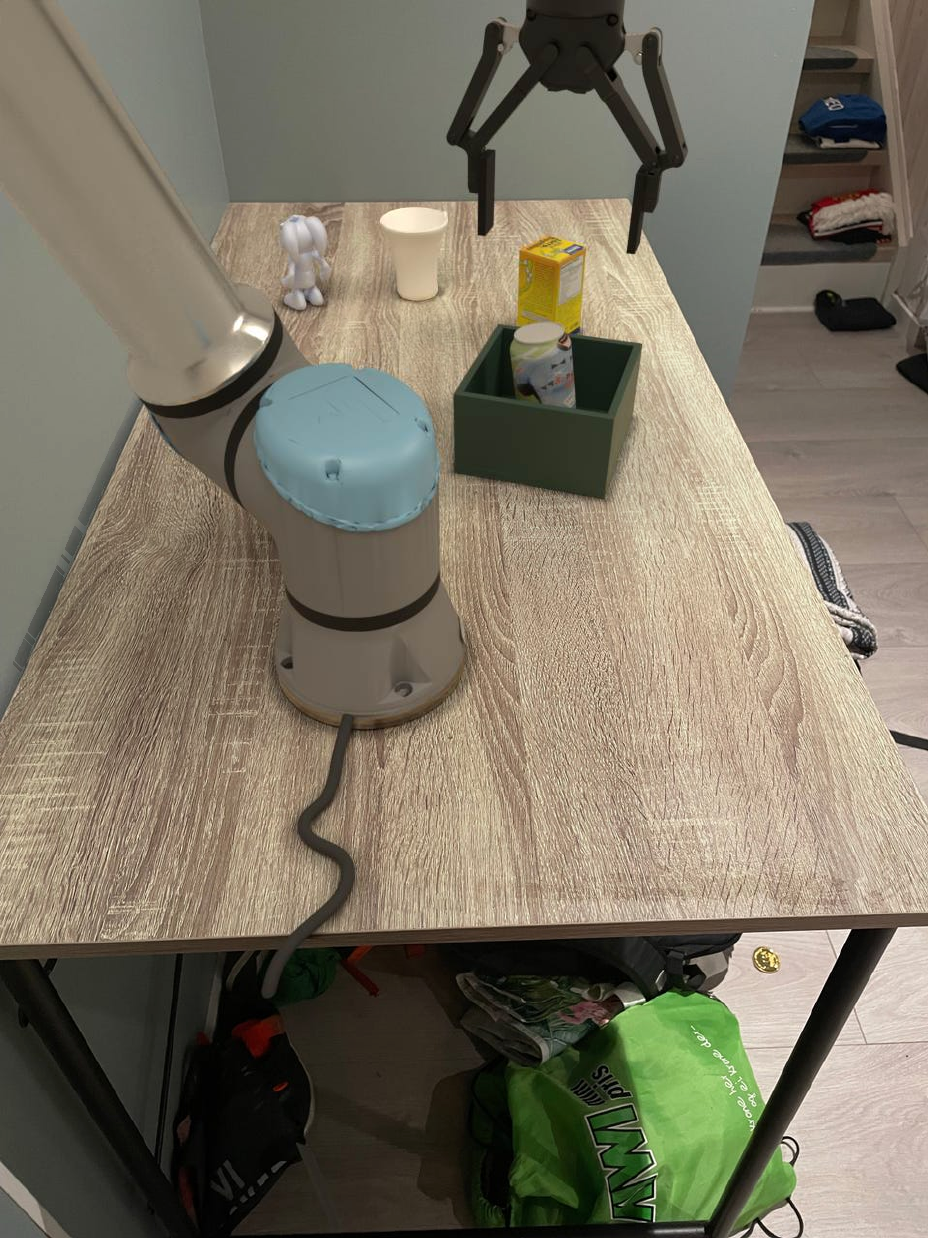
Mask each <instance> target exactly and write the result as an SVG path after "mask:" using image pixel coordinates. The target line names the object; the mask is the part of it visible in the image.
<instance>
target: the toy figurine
mask: <svg viewBox="0 0 928 1238" xmlns="http://www.w3.org/2000/svg"><path fill="white" fill-rule="evenodd" d="M278 228H279V229H278V234H279V239H280V240H279V241H280V242H279V244H280V248H281V249H282V250H284V251H285V252H287V257H286V264H287V265H288V273H287V274H286V276H284V277H283V278H282V279H281V285H282V287H283V288H284V289H292V290H293V291H291V292H288V293H287V294H286V295H285V296H284V297H283V303H284V305H286V306H288V307H289V308H292V309H293V310H296V311H304V310H306V309H307V301H308V302H309V303H310V304H311V305H312V306H317V307H318V306H323V304H324V297H323V294H322V292H321V291H320V289H319V288H318V287H317V285H316V275H315V271H314V267H313V260H314V261H317V262H318V263H319V265H320V266H321V270H320V272H319V273H318V277H319V278H320V279H321V280H322V281H325V280H328V279H329V278H330V277H331V276H332V269H331V266H330V265H329V264H328V262H327V261H326V259H325V258H324V256H325V254H326V250H327V247H328V246H327V245H328V234H327V230H326V228H325V226H324V224H323V222H322V221H321V219H319V218H318V217H317V216H314V215H310V216H308V217H307V216H305V215H302V214H292V215H291V216H289V217H288V218H287V219H286V220H284V221H283V222H281V223H280V224H279V225H278ZM314 245H315V248H313V247H314ZM302 289H304V291H303V290H302Z"/></svg>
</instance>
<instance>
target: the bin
mask: <svg viewBox="0 0 928 1238" xmlns="http://www.w3.org/2000/svg"><path fill="white" fill-rule="evenodd" d="M519 328H520V327H519V326H517V325H513V324H512V325H511V324H503V323H497V325H496V326H495V328H494V329H493V331H492V332H491V334H490V335H489V337H488V339H487V340H486V342H485V344H483V347H482V348H481V350H479V351H480V352H479V353H478V354H477V356H476V358H475V359H474V361H473V362H472V364H471V366H470V367H469V368H468V370H467V372H466V374H465V375H464V377H463V378H462V379H461V381H460V382H459V385H458V386H457V387H456V389H455V391H454V392H453V394H452V397H453V398H452V400H453V401H452V402H453V405H452V406H453V459H454V460H453V463H454V466H453V467H454V469H453V471H454V473H456V474H462V475H467V476H473V477H479V478H484V479H490V480H495V481H502V482H507V483H513V484H518V485H523V486H524V485H525V486H530V487H535V488H540V489H546V490H552V491H558V492H563V493H569V494H575V495H580V496H586V497H591V498H597V499H603V500H605V498H606V495H607V493H608V490H609V487H610V484H611V481H612V478H613V475H614V473H615V469H616V467H617V464H618V461H619V458H620V456H621V452H622V449H623V446H624V444H625V441H626V438H627V435H628V433H629V429H630V427H631V424H632V421H633V417H634V416H633V415H634V410H635V402H636V394H637V389H638V388H637V386H638V380H639V373H640V365H641V359H642V351H643V342H642V343H641V342H634V341H627V340H621V339H612V338H606V337H597V336H590V335H584V334H577V333H576V334H570V333H566V334H567V335H568V336H569V338H570V340H571V346H572V359H573V372H574V385H575V398H576V409H572V408H566V407H559V406H553V405H547V404H540V403H534V402H527V401H521V400H516V395H515V387H514V379H513V371H512V363H511V355H510V346H511V343H512V341H513V340H514V333H515V332H516V330H517V329H519Z"/></svg>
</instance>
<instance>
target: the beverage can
mask: <svg viewBox="0 0 928 1238" xmlns="http://www.w3.org/2000/svg"><path fill="white" fill-rule="evenodd" d="M510 355H511V363H512V371H513V379H514V387H515V395H516V400H521V401H527V402H534V403H540V404H547V405H553V406H559V407H566V408H572V409H576V398H575V385H574V372H573V359H572V346H571V340H570V338H569V336H568V335H567V334H566V333H565V332H564V327H563V326H562V325H561V324H559V323H556V322H548V321H543V322H535V323H530V324H527V325H525V326H522V327H520V328H519V329H517V330H516V332H515V333H514V340H513V341H512V343H511V346H510Z"/></svg>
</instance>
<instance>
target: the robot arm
mask: <svg viewBox="0 0 928 1238" xmlns="http://www.w3.org/2000/svg"><path fill="white" fill-rule="evenodd" d="M625 4H626V0H526V2H525V17H524V21H523V24H522V25H521V24H516V23H512V22H508V21H507V19H506V18H505V17H503V16H498V17H496V18H495V19H493V20H492V21H490V22H489V23H487V25H486V26H485V29H484V36H483V45H482V54H481V56H480V58H479V60H478V63H477V65H476V67H475V70H474V72H473V74H472V77H471V79H470V81H469V83H468V85H467V88H466V90H465V92H464V94H463V97H462V99H461V101H460V103H459V106H458V108H457V111H456V113H455V114H454V117H453V119H452V122H451V124H450V126H449V128H448V131H447V133H446V136H445V139H446V142H447V144H448V145H449V146H452V147H455V146H456V147H458V148H460V149H462V150H463V151H464V152H465V153H466V156H467V188H468V191H469V192H468V193H469V194H475V195H477V230H476V231H477V236H478V237H479V236H480V237H481V236H482V237H486V236H487V235H488V234H489V232H490V231H491V230H492V229H493V228H494V226H495V192H496V191H495V190H496V149H491V148H487V146H488V145H489V143H490V142H491V141H492V139H493V138H494V137H495V136H496V134H497V133H498V132H499V131H500V130H501V128H502V127H503V126H504V125H505V124H506V122H507V121H508V120H509V119H510V118H511V117H512V115H513V114H514V113H515V111H516V110H517V109H518V108H519V107H520V105H521V104H522V103H523V102H524V101H525V100H526V99H527V97H528V96H529V94H530V93H531V92H532V91H533V90H534V89H535V87H536V86H537V85H538V84H540V85H541V86H542V87H544V88H545V89H546V90H547V92H552V93H553V92H554V93H557V92H562V91H568V92H571V93H573V94H577V95H586V94H587V93H589V92H592V91H593V90H595V92H596V94H597V95H598V97H599V99H600V101H602V102H603V103H604V104H605V105H606V106H607V108H608V110H609V111H610V113H611V114H612V116H613V118H614V119H615V121H616V123H617V124H618V126H619V128H620V129H621V131H622V132H623V134H624V136H625V138H626V139H627V140H628V143H629V144H630V146H631V147H632V149H633V150H634V152H635V154H636V156H637V158H638V159H639V161H640V162H641V164H640V166H639V168H638V170H637V172H636V174H635V180H634V187H633V196H632V204H631V212H630V220H629V228H628V229H629V230H628V236H627V243H626V250H625V251H626V253H625V254H628V255H636V253H637V251H638V248H639V247H640V245H641V239H642V231H643V223H644V215H645V213H647V214H648V213H649V214H653V213H654V212H655V209H656V208H657V206H658V203H659V199H660V194H661V193H660V192H661V185H662V179H663V173H664V172H665V171H666V170H669V169H670V170H671V169H673V168H674V169H679V168H680V167H682V166H683V165H684V163H685V161H686V158H687V157H688V153H689V148H688V145H687V141H686V138H685V134H684V131H683V127H682V124H681V121H680V117H679V114H678V111H677V107H676V103H675V100H674V96H673V93H672V90H671V86H670V82H669V79H668V76H667V73H666V69H665V66H664V63H663V44H664V43H663V38H664V35H663V31H662V29H661V28H660V27H658V26H653V27H651V28H650V29H649V30H648V31H636V32H627V31H626V28H625V23H624V14H625ZM516 43H518V45H519V48H520V49H521V52H522V53H523V55H524V56H525V58H526V60H527V62H528V65H529V66H528V67H527V68H526V70H525V71H524V72H523V73H522V74H521V76H520V77H519V78H518V80H517V81H516V82H515V84H514V85H513V86H512V88H511V89H510V90H509V92H507V94H506V95H505V96H504V97H503V99H502V100H501V101H500V103H499V104H498V105H497V106H496V107H495V108H494V110H493V111H492V113H491V114H490V115H489V116H488V117H487V118H486V120H485V121H484V122H483V124H481V126H480V127H479V128H478V130H477V131H474V130H473V129H471V128H472V126H473V123H474V121H475V119H476V116H477V114H478V112H479V110H480V108H481V106H482V104H483V101H484V99H485V97H486V95H487V93H488V91H489V88H490V86H491V84H492V82H493V80H494V78H495V75H496V73H497V71H498V69H499V66H500V65H501V62H502V59H503V57H504V55H506V54H508V53H509V52H511V51H512V49H513V47H514V44H516ZM625 51H628V52H629V53H631V55H632V61H633V62H634V63H635V65H638V66H641V72H642V77H643V82H644V84H645V88H646V91H647V95H648V98H649V100H650V104H651V107H652V108H651V109H652V111H653V113H654V114H653V115H654V118H655V121H656V123H657V127H658V130H659V134H660V137H661V141H662V143H663V146H664V149H662V147H661V146H660V144H659V142H658V141H657V139H656V137H655V136H654V134H653V132H652V131H651V129H650V128H649V127H650V126H649V125H648V124H647V122H646V120H645V119H644V117H643V116H642V114H641V112H640V110H639V109H638V107H637V105H636V104H635V103H634V100H633V99H632V97H631V96H630V94H629V92H628V91H627V89H626V87H625V85H624V81H623V78H622V77H621V76H620V74H619V72H618V71H617V69H616V67H615V66H614V65H615V64H616V63H617V61H618V60H619V58H621V56H622V55H623V53H624V52H625ZM0 193H1V194H2V195H3V196H4V197H5V199H6V200H7V201H8V202H9V204H10V205H11V206H12V208H13V209H14V210H15V211H16V212H17V214H18V215H19V216H20V217H21V219H22V220H23V221H24V223H25V224H26V225H27V226H28V228H29V229H30V230H31V232H33V234H34V235H35V236H36V238H37V239H38V240H39V241H40V242H41V244H42V245H43V246H44V247H45V249H46V250H47V252H48V253H50V254H49V255H51V257H53V259H54V260H55V262H56V263H57V264H58V265H59V266H60V268H61V269H62V270H63V271H64V272H65V274H66V275H67V276H68V278H69V279H70V280H71V281H72V283H73V284H74V285H75V286H76V288H77V289H78V290H79V291H80V292H81V294H82V295H83V296H84V297H85V299H86V300H87V302H89V304H90V305H91V306H92V308H93V309H94V310H95V311H96V312H97V313H98V315H99V316H100V318H101V319H102V320H103V321H104V323H105V325H107V326H108V327H109V328H110V330H111V331H112V332H113V334H114V335H115V336H116V337H117V339H118V340H119V341H120V342H121V343H122V345H123V347H125V349H126V350H127V352H128V354H127V359H126V361H125V379H126V381H127V385H128V386H129V388H130V389H131V391H132V392H133V393H134V395H135V396H136V397H137V398H138V399H139V400H140V402H141V403H142V404H143V405H144V406H145V409H146V411H147V414H148V415H149V418H150V420H151V422H152V423H153V425H154V427H155V428H156V429H157V432H158V435H160V436H161V438H162V439H163V441H164V442H165V444H167V445H168V447H170V448H171V449H172V450H173V451H174V453H176V454H177V455H178V456H179V457H181V458H182V459H183V460H185V462H188V463H189V464H191V465H193V466H194V467H195V468H196V469H197V470H198V471H199V472H201V474H203V476H206V477H207V479H209V481H211V482H213V484H215V485H216V486H217V487H218V488H219V489H220V490H222V491H223V492H224V493H225V494H226V495H227V496H228V497H230V498H231V499H232V500H234V502H235V503H237V504H238V505H239V507H241V509H243V510H244V511H246V512H247V513H248V514H249V515H250V516H251V517H252V518H254V519H255V520H256V521H257V522H258V523H259V524H260V525H262V526H263V527H264V528H265V529H266V530H267V531H268V532H269V534H270V535H271V537H272V539H273V540H274V542H275V545H276V548H277V549H276V550H277V554H278V559H279V565H280V570H281V573H282V574H281V575H282V579H283V584H284V589H285V590H284V591H285V597H284V601H283V606H282V609H281V614H280V618H279V622H278V626H277V631H276V634H275V638H274V643H273V660H274V666H275V670H276V675H277V678H278V683H279V685H280V687H281V689H282V691H283V693H284V695H285V696H286V697H287V699H288V700H289V701H290V702H291V703H292V705H294V706H295V707H296V708H297V709H299V711H301V712H302V713H303V714H305V715H307V716H309V717H310V718H312V719H314V720H317V721H319V722H321V723H324V724H327V725H331V726H334V727H338V730H337V735H336V738H335V742H334V746H333V749H332V753H331V758H330V762H329V768H328V773H327V778H326V782H325V784H324V788H323V790H322V791H321V794H319V796H318V797H317V798H316V799H315V800H314V801H313V802H311V803H310V804H309V805H308V806H307V807H306V808H305V809H304V810H303V811H302V813H301V814H300V816H299V817H298V820H297V826H296V827H297V832H298V835H299V837H300V839H301V840H302V842H303V843H305V845H306V846H307V847H310V848H311V849H312V850H315V852H318V853H321V854H323V855H324V856H327V857H329V858H331V859H333V860H334V861H335V862H336V863H338V865H339V866H340V879H339V883H338V885H337V887H336V890H335V891H334V893H333V894H332V895H331V897H330V898H329V899H328V900H327V901H326V902H325V903H324V904H322V905H321V906H320V907H319V908H318V909H317V910H315V912H313V914H311V915H310V916H309V917H307V918H306V919H305V920H304V921H303V922H302V923H301V924H300V925H298V927H296V928H295V929H294V930H293V931H292V932H291V933H290V934H289V935H288V936H287V937H286V939H285V940H284V941H283V942H282V944H280V946H279V947H278V949H277V950H276V952H275V954H274V955H273V957H272V959H271V960H270V963H269V965H268V968H267V970H266V972H265V975H264V978H263V982H262V986H261V991H260V992H261V996H262V998H264V999H266V1000H267V999H270V998H272V997H273V996H274V995H276V992H277V988H278V986H279V982H280V978H281V976H282V973H283V971H284V968H285V966H286V964H287V963H288V961H289V960H290V958H291V957H292V955H293V954H294V953H295V951H296V950H297V949H298V948H299V947H300V946H301V944H303V943H304V941H306V940H307V939H308V938H309V937H311V935H312V934H313V933H314V932H316V930H318V929H319V928H320V927H321V926H323V925H324V924H325V923H326V922H327V921H328V920H329V919H331V917H333V915H335V914H336V913H337V912H338V911H339V910H340V908H341V907H342V906H343V904H344V903H345V902H346V900H347V899H348V897H349V896H350V894H351V892H352V889H353V886H354V882H355V874H356V873H355V872H356V869H355V864H354V860H353V858H352V857H351V855H350V853H348V852H347V851H346V849H344V848H342V846H339V845H338V844H335V843H334V842H332V841H329V840H327V839H325V838H323V837H321V836H320V835H318V834H316V833H315V832H313V830H312V826H311V825H312V824H311V823H312V821H313V820H314V819H315V818H316V817H317V816H318V815H319V814H320V813H322V812H323V811H324V810H325V809H326V808H327V807H328V806H329V805H330V804H331V802H332V801H333V799H334V797H335V795H336V793H337V790H338V787H339V785H340V781H341V778H342V777H341V776H342V772H343V763H344V759H345V755H346V750H347V747H348V743H349V739H350V735H351V731H352V730H375V729H384V728H389V727H394V726H398V725H403V724H404V723H408V722H411V721H413V720H415V719H418V718H420V717H421V716H423V715H426V714H427V713H429V712H431V711H432V710H433V709H435V708H437V706H439V705H440V704H441V703H443V702H444V701H445V700H446V699H447V697H449V696H450V694H451V693H452V692H453V691H454V690H455V688H456V687H457V685H458V683H459V681H460V679H461V678H462V675H463V673H464V669H465V665H466V664H465V663H466V645H467V640H466V633H465V627H464V626H465V625H464V620H463V619H464V618H463V616H462V614H461V612H460V609H459V608H457V609H458V613H457V611H456V609H455V607H454V605H453V602H452V600H451V598H450V596H449V594H448V591H447V589H446V587H445V585H444V583H443V581H442V578H441V545H440V544H441V543H440V542H441V541H440V540H441V539H440V538H441V537H440V532H441V531H440V471H441V460H440V459H441V458H440V454H439V452H438V451H439V450H438V446H437V440H436V433H435V427H434V422H433V419H432V415H431V413H430V412H429V411H430V410H429V409H428V407H427V406H426V404H425V402H424V401H423V400H422V398H421V397H420V396H419V394H418V393H417V392H416V391H415V390H414V389H413V388H412V387H411V386H409V385H408V384H407V383H405V382H404V381H403V380H401V379H399V378H398V377H396V376H394V375H392V374H390V373H388V372H385V371H383V370H380V369H377V368H374V367H371V366H366V365H365V366H363V367H362V368H360V369H358V368H357V369H355V368H354V367H353V365H352V364H351V363H348V362H347V363H345V362H328V363H326V362H325V363H318V364H312V363H311V362H310V361H309V360H308V359H307V357H305V356H304V355H303V353H302V352H301V350H300V349H299V347H298V346H297V344H296V343H295V341H294V339H293V338H292V336H291V334H290V333H289V331H288V329H287V328H286V326H285V324H284V322H283V320H282V319H281V317H280V316H279V314H278V313H277V311H276V309H275V308H274V306H273V304H272V303H271V301H270V299H269V298H268V297H267V295H266V294H265V293H264V292H263V290H260V289H259V288H257V287H255V286H253V285H250V284H248V283H247V284H246V283H241V282H233V280H232V278H231V277H230V275H229V274H228V272H227V270H226V269H225V267H224V265H223V264H222V262H221V261H220V259H219V258H218V256H217V254H216V252H215V251H214V250H213V248H212V246H211V245H210V243H209V242H208V240H207V238H206V237H205V235H204V233H203V232H202V230H201V228H200V226H199V225H198V224H197V222H196V221H195V219H194V217H193V216H192V215H191V212H190V211H189V209H188V207H187V206H186V203H184V201H183V200H182V198H181V196H180V194H179V193H178V191H177V190H176V189H175V186H174V185H173V183H172V182H171V180H170V178H169V177H168V175H167V174H166V172H165V171H164V169H163V167H162V166H161V164H160V163H159V161H158V159H157V158H156V156H155V154H154V152H152V150H151V148H150V146H149V145H148V143H147V142H146V140H145V139H144V137H143V135H142V133H141V132H140V130H139V128H138V127H137V126H136V124H135V123H134V121H133V119H132V118H131V116H130V114H129V113H128V112H127V110H126V108H125V107H124V104H123V103H122V102H121V100H120V99H119V97H118V95H117V94H116V92H115V91H114V88H112V86H111V84H110V81H108V79H107V78H106V76H105V74H104V72H103V71H102V69H101V68H100V66H99V65H98V63H97V62H96V60H95V58H94V57H93V55H92V53H91V52H90V50H89V48H88V47H87V45H86V43H85V42H84V41H83V39H82V37H81V36H80V33H78V31H77V29H76V27H75V26H74V24H73V23H72V21H71V20H70V18H69V16H68V15H67V13H66V11H65V10H64V8H63V7H62V5H61V3H60V2H59V0H0ZM295 1143H296V1147H297V1149H298V1152H299V1154H300V1157H301V1159H302V1161H303V1163H304V1166H305V1168H306V1170H307V1172H308V1175H309V1177H310V1179H311V1182H312V1183H313V1186H314V1188H315V1191H316V1193H317V1195H318V1197H319V1200H320V1202H321V1204H322V1207H323V1209H324V1212H325V1214H326V1217H327V1221H328V1223H329V1226H330V1229H331V1231H333V1232H339V1230H340V1229H341V1221H340V1218H339V1215H338V1212H337V1208H336V1206H335V1203H334V1201H333V1198H332V1196H331V1193H330V1190H329V1188H328V1186H327V1183H326V1181H325V1179H324V1176H323V1174H322V1171H321V1169H320V1166H319V1164H318V1162H317V1159H316V1157H315V1154H314V1152H313V1148H312V1147H310V1146H307V1145H304V1144H302V1143H299V1142H295Z"/></svg>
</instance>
